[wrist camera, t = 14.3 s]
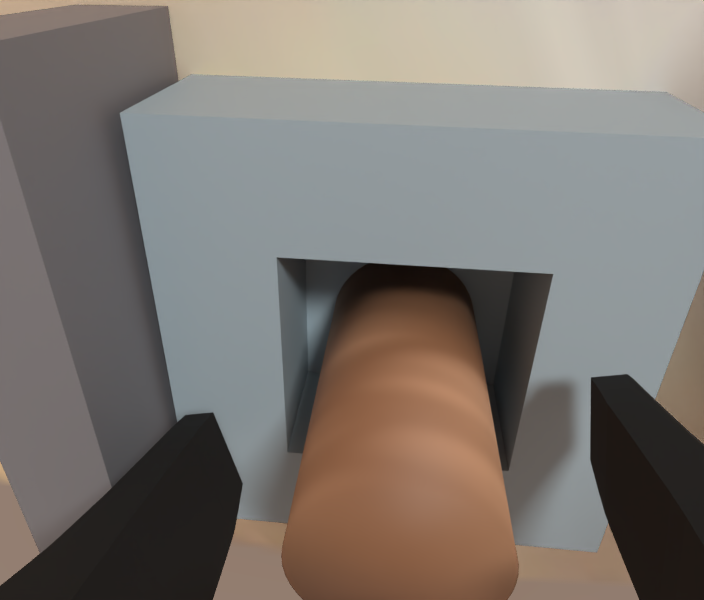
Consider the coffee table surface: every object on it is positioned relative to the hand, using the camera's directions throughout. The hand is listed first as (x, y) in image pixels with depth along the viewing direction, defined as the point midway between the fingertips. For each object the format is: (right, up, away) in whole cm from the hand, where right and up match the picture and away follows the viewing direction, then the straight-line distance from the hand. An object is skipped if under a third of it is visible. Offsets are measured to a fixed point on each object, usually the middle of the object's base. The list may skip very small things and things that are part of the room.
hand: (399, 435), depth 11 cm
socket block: (+1, +3, +4) cm, 5 cm away
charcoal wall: (-6, +4, +4) cm, 8 cm away
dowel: (0, +2, +3) cm, 4 cm away
